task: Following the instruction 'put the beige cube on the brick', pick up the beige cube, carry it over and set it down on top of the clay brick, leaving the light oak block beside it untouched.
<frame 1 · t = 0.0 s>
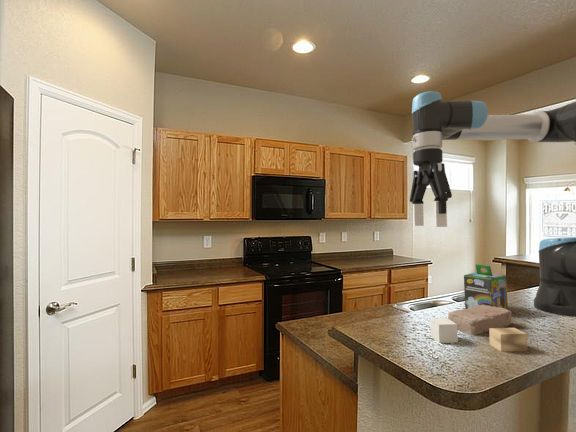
hand: (428, 226, 89), 28 cm above the countertop, tool pointing down, fingers open, 13 cm apart
beige cube: (443, 339, 80), on the countertop
brick: (479, 328, 90), on the countertop
oak block: (507, 348, 75), on the countertop
chalk box: (485, 310, 105), on the countertop
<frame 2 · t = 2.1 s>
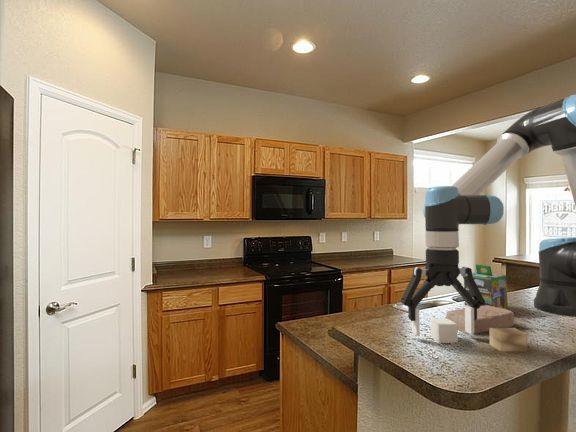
hand: (442, 333, 80), 1 cm above the countertop, tool pointing down, fingers open, 13 cm apart
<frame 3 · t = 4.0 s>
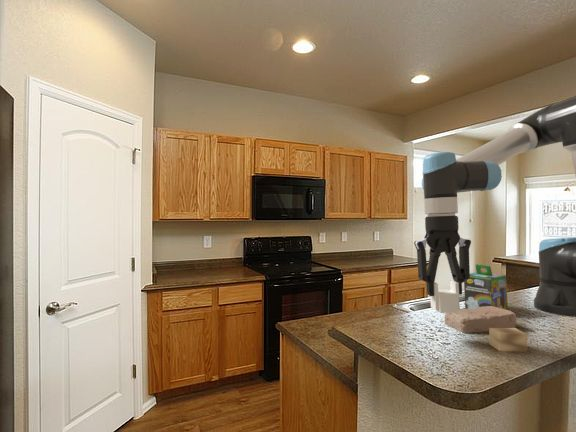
hand: (445, 307, 81), 8 cm above the countertop, tool pointing down, fingers closed on beige cube, 4 cm apart
beige cube: (445, 309, 81), point 7 cm above the countertop, touching gripper
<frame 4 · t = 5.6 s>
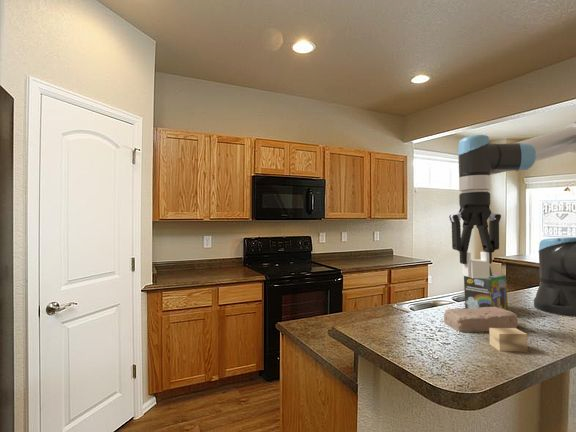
hand: (476, 275, 90), 14 cm above the countertop, tool pointing down, fingers closed on beige cube, 4 cm apart
beige cube: (475, 276, 90), point 14 cm above the countertop, touching gripper
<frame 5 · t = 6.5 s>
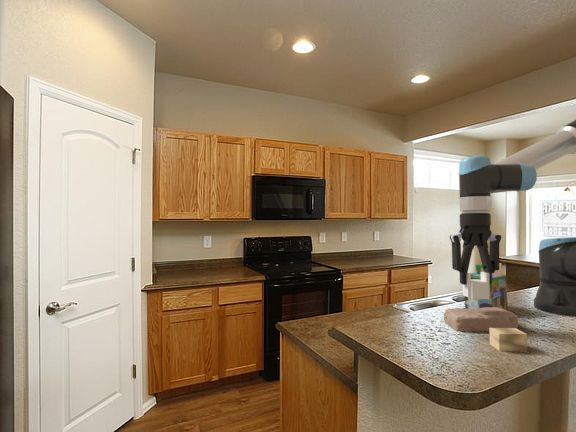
hand: (475, 295, 90), 8 cm above the countertop, tool pointing down, fingers closed on beige cube, 4 cm apart
beige cube: (475, 297, 90), point 8 cm above the countertop, touching gripper
when the fingers open (5 cm above the countertop, at t = 7.4 s): beige cube stays where it is, resting on brick.
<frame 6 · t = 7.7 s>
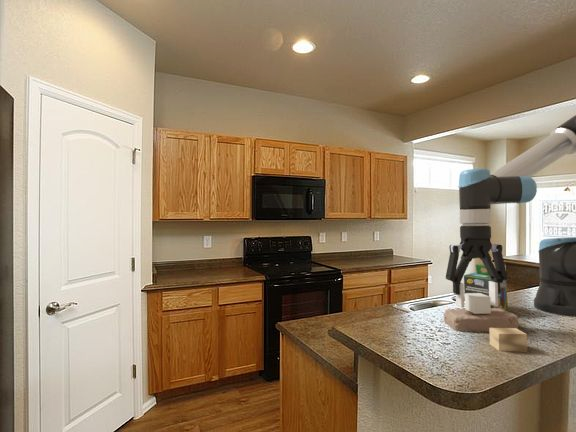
hand: (476, 305, 90), 6 cm above the countertop, tool pointing down, fingers open, 9 cm apart
beige cube: (477, 311, 90), point 4 cm above the countertop, touching brick
brick: (479, 329, 89), on the countertop, touching beige cube
everything else where it was.
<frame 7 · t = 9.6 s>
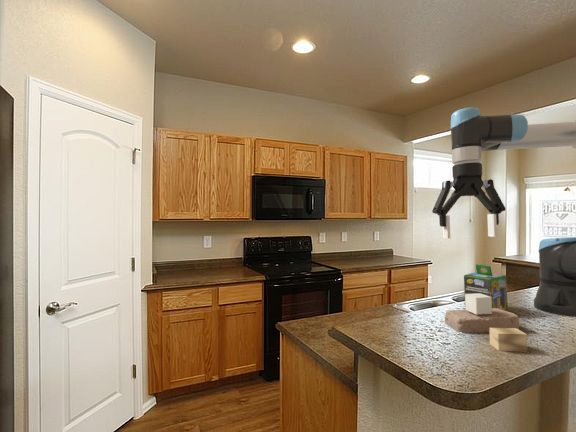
hand: (469, 237, 93), 24 cm above the countertop, tool pointing down, fingers open, 13 cm apart
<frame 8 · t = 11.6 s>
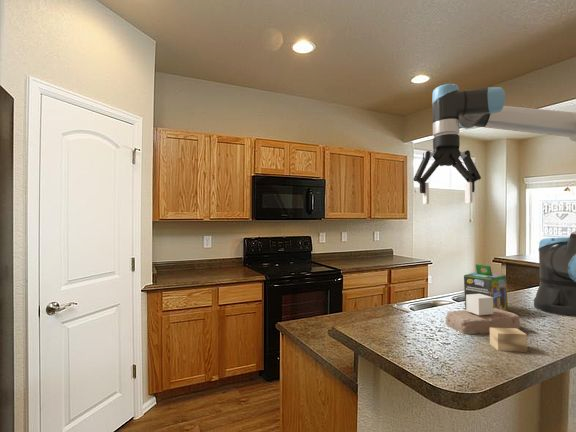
hand: (447, 203, 101), 35 cm above the countertop, tool pointing down, fingers open, 13 cm apart
at the end: beige cube 0.5 cm from the brick (horizontally); beige cube point 4.1 cm above the countertop; oak block moved 0.2 cm from its start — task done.
